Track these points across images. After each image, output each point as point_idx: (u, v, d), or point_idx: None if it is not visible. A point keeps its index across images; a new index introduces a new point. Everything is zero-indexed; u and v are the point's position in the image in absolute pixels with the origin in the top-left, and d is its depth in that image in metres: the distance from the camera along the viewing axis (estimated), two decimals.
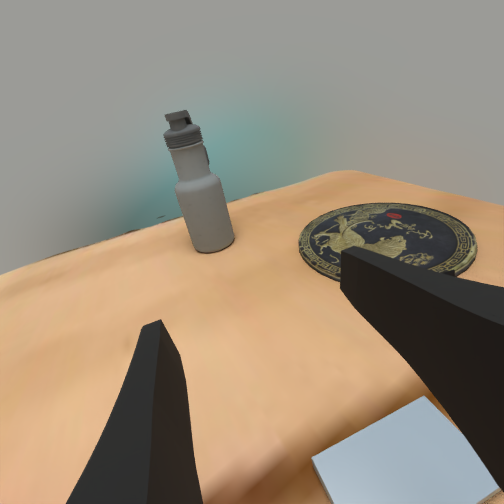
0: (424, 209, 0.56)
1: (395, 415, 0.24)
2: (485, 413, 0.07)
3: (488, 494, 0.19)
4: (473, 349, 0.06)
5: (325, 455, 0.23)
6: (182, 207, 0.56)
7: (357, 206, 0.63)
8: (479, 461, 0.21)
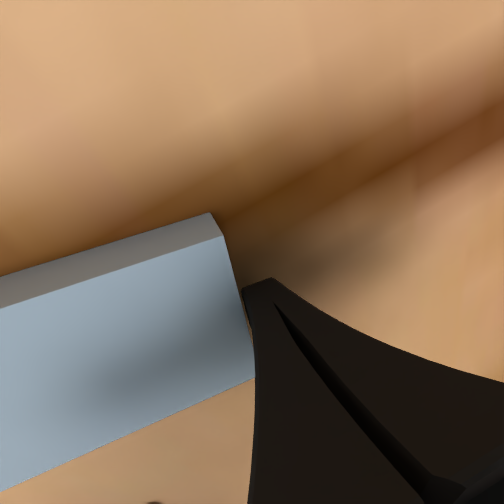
0: None
1: (95, 286, 0.07)
2: None
3: (216, 393, 0.11)
4: None
5: None
6: None
7: None
8: (239, 359, 0.10)
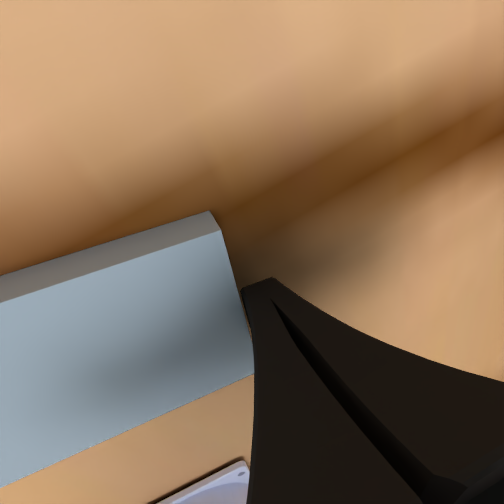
0: None
1: (95, 281, 0.07)
2: None
3: (216, 388, 0.11)
4: (348, 414, 0.06)
5: None
6: None
7: None
8: (238, 354, 0.11)
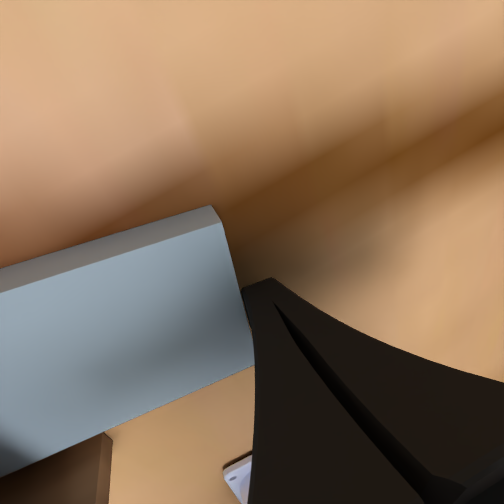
0: None
1: (97, 271, 0.07)
2: None
3: (215, 380, 0.11)
4: None
5: None
6: None
7: None
8: (237, 346, 0.11)
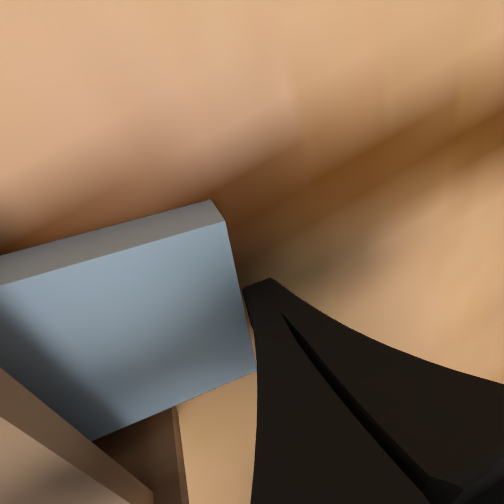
0: None
1: (90, 269, 0.07)
2: None
3: (211, 388, 0.11)
4: None
5: None
6: None
7: None
8: (236, 353, 0.10)
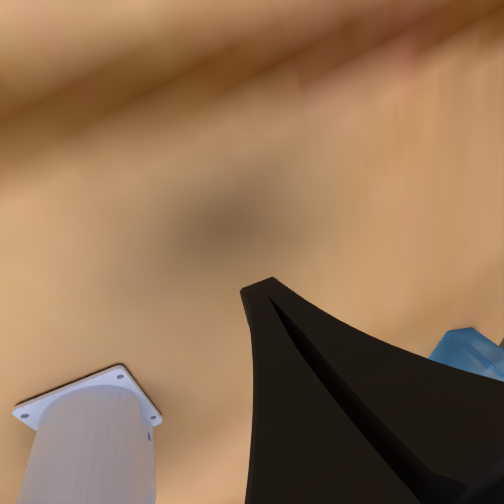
0: None
1: None
2: None
3: None
4: (348, 414, 0.06)
5: None
6: None
7: None
8: None
